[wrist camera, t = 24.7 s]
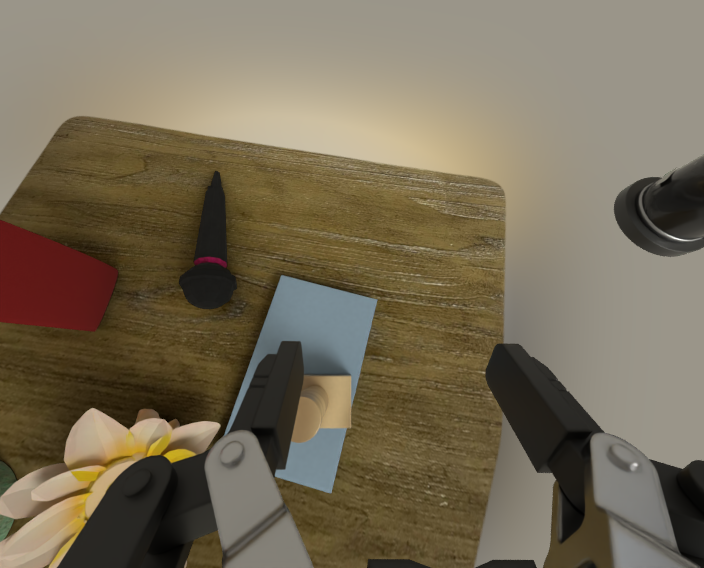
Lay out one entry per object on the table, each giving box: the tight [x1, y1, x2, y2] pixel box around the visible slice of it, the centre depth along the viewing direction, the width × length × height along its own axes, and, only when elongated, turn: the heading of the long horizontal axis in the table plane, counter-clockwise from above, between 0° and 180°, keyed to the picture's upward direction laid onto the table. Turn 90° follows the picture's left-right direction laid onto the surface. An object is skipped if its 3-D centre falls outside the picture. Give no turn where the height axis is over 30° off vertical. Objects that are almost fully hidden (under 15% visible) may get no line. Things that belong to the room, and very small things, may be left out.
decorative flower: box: [0, 408, 221, 568], centre depth 21 cm, size 15×11×10 cm
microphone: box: [179, 171, 237, 309], centre depth 31 cm, size 6×6×20 cm
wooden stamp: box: [291, 374, 351, 443], centre depth 22 cm, size 7×4×11 cm, turn 90°
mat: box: [224, 275, 377, 493], centre depth 28 cm, size 12×20×1 cm, turn 165°
